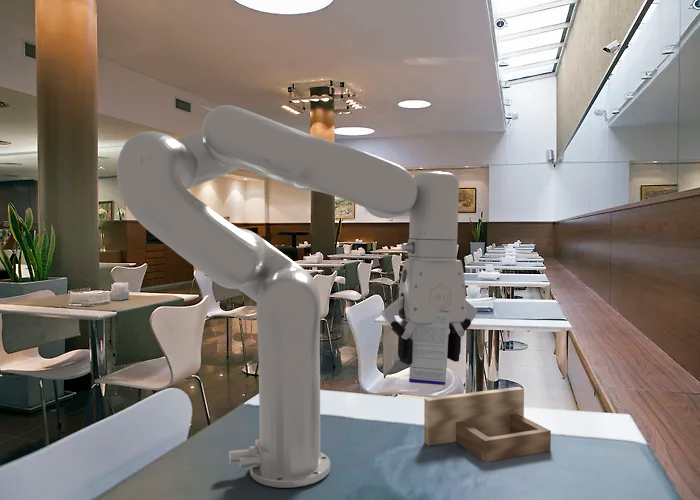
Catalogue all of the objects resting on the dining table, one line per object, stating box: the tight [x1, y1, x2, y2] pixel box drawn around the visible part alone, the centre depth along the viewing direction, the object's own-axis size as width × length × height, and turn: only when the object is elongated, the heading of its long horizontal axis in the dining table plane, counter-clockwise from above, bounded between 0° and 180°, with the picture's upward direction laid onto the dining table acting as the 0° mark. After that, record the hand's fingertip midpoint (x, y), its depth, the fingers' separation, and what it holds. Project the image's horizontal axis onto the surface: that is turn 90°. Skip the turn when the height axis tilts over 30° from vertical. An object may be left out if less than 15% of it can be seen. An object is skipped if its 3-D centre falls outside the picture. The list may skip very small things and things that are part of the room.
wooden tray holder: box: [423, 386, 552, 463], centre depth 96 cm, size 20×11×8 cm, turn 110°
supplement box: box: [408, 311, 450, 386], centre depth 87 cm, size 6×6×12 cm
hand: (429, 360), depth 87 cm, fingers closed on supplement box, 7 cm apart
